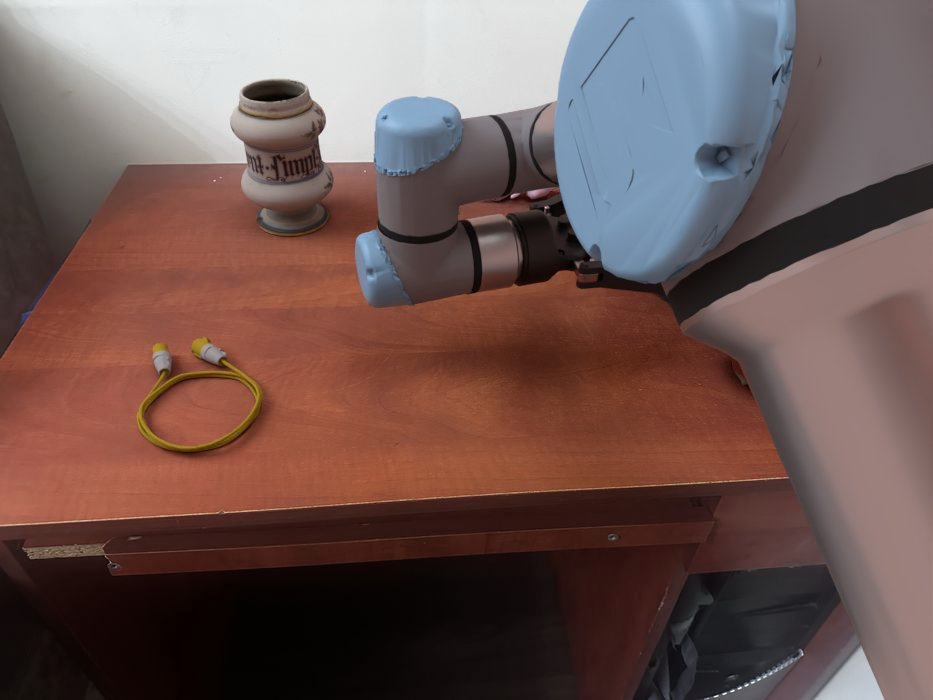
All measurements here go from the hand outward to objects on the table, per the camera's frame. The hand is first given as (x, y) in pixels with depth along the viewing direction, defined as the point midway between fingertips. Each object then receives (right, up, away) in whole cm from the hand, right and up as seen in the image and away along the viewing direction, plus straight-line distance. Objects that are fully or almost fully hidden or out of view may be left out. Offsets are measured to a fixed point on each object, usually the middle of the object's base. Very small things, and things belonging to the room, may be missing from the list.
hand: (688, 223), depth 78 cm
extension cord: (-51, -19, -7) cm, 55 cm away
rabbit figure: (-15, +9, +28) cm, 33 cm away
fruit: (+7, -17, -1) cm, 19 cm away
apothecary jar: (-49, +4, +21) cm, 53 cm away
